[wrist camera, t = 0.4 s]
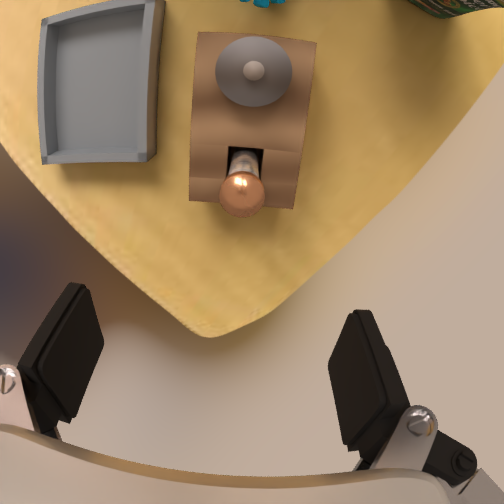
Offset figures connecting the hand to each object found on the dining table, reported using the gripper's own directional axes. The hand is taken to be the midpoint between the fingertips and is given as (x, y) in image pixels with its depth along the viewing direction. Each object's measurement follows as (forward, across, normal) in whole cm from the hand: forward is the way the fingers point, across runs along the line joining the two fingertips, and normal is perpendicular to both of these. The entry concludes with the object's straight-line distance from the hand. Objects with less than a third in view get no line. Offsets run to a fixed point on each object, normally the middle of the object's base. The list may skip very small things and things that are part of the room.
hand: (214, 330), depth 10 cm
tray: (+25, +16, -9) cm, 31 cm away
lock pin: (+24, -1, -1) cm, 25 cm away
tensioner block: (+25, 0, -5) cm, 26 cm away
